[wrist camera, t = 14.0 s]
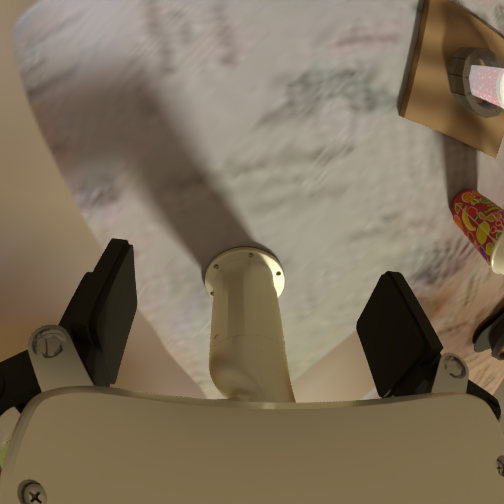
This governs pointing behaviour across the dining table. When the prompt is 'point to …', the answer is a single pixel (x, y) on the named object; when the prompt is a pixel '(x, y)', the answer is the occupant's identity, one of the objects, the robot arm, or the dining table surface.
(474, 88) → the beverage cup
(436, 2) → the socket board
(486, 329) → the casserole
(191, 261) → the dining table surface
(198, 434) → the robot arm
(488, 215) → the smoothie
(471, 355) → the dining table surface
